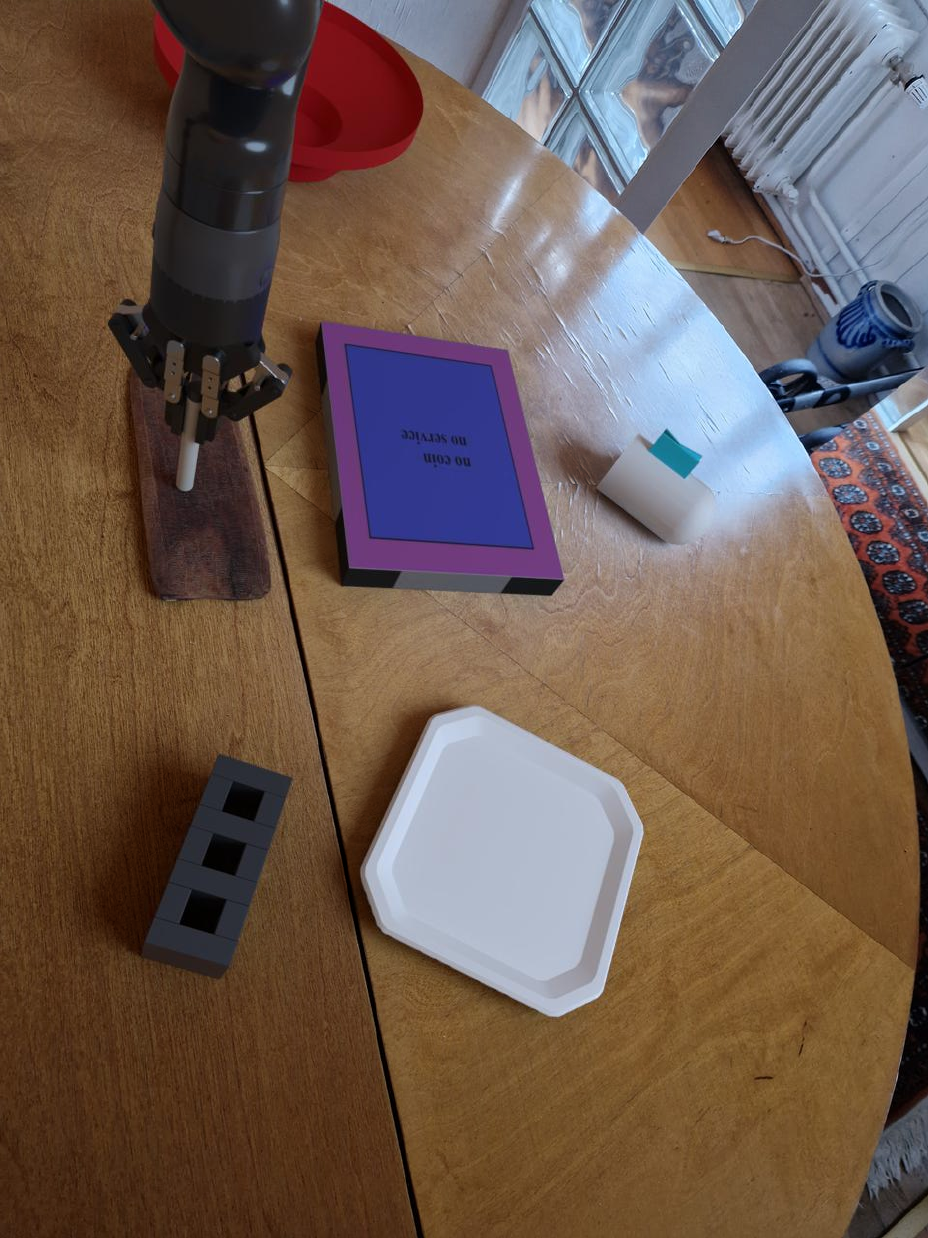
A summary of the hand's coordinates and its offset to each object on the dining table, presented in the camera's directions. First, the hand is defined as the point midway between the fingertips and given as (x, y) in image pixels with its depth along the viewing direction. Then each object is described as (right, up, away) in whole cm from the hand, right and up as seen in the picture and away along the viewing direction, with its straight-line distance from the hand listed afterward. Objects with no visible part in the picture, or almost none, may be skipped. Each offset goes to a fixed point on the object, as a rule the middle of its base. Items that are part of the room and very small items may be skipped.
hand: (191, 431), depth 71 cm
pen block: (+4, -33, -7) cm, 34 cm away
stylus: (-2, -3, +6) cm, 7 cm away
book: (+18, +1, +20) cm, 27 cm away
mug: (+42, -2, +28) cm, 51 cm away
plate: (+25, -34, +1) cm, 42 cm away
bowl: (-1, +43, +38) cm, 58 cm away
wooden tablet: (-2, -2, +9) cm, 10 cm away
